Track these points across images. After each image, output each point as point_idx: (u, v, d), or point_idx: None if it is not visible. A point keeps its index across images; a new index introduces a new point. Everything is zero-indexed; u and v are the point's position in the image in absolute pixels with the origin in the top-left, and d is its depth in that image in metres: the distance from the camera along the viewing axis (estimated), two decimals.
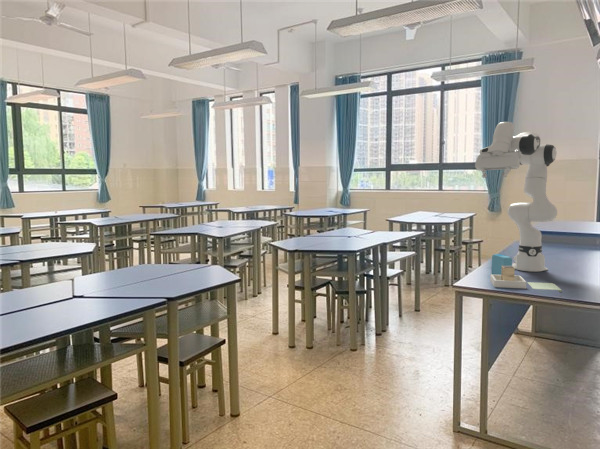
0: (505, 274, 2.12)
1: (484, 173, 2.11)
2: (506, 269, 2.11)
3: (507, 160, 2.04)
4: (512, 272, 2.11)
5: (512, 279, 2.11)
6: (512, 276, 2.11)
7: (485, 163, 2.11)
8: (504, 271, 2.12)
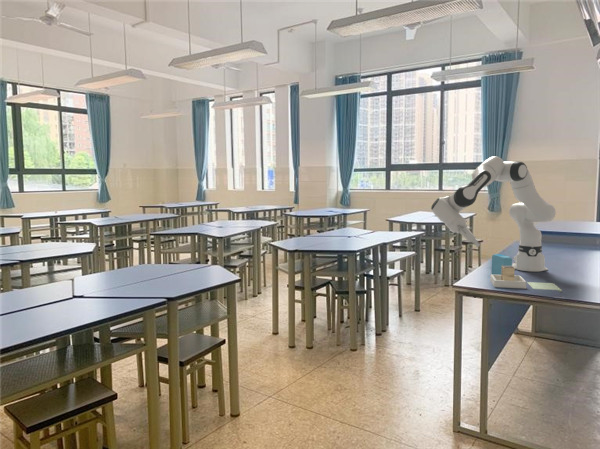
0: (505, 274, 2.12)
1: None
2: (506, 269, 2.11)
3: None
4: (512, 272, 2.11)
5: (512, 279, 2.11)
6: (512, 276, 2.11)
7: None
8: (504, 271, 2.12)
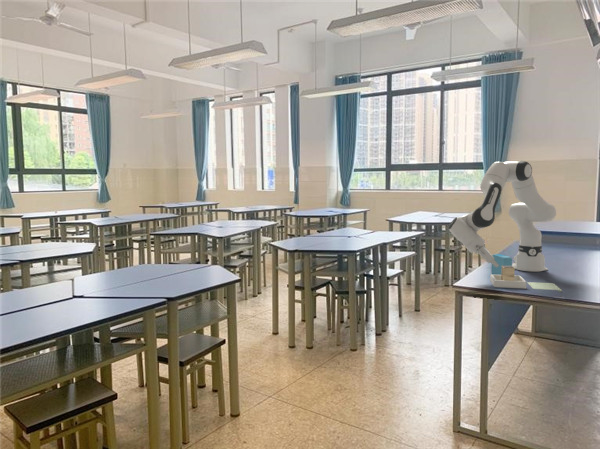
0: (505, 274, 2.12)
1: None
2: (506, 269, 2.11)
3: None
4: (512, 272, 2.11)
5: (512, 279, 2.11)
6: (512, 276, 2.11)
7: None
8: (504, 271, 2.12)
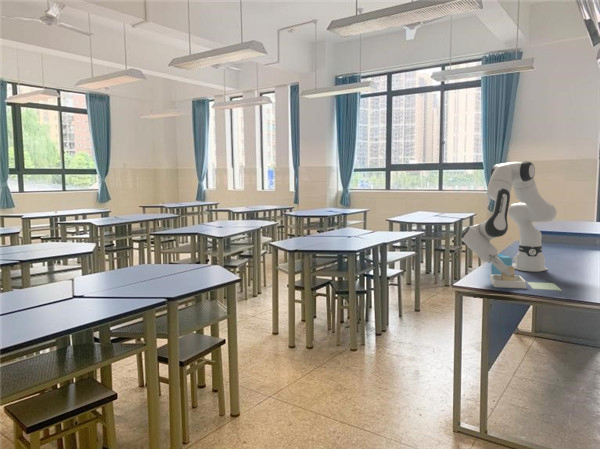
0: (505, 274, 2.12)
1: None
2: None
3: None
4: (512, 272, 2.11)
5: (512, 279, 2.11)
6: (512, 276, 2.11)
7: None
8: None
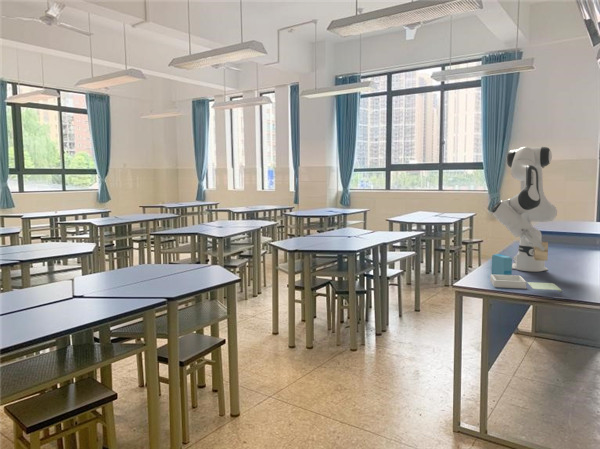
0: (538, 249, 2.07)
1: None
2: None
3: (529, 241, 2.05)
4: (546, 247, 2.06)
5: (545, 254, 2.06)
6: (545, 251, 2.06)
7: None
8: None
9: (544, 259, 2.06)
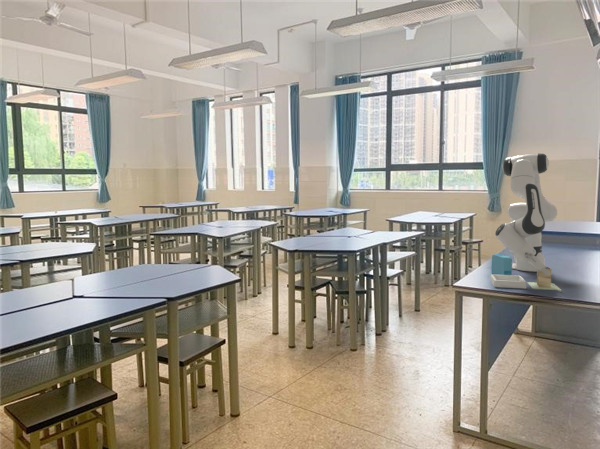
0: (541, 275, 2.07)
1: None
2: None
3: None
4: (549, 274, 2.06)
5: (549, 280, 2.07)
6: (549, 277, 2.07)
7: None
8: (540, 272, 2.07)
9: (547, 286, 2.07)
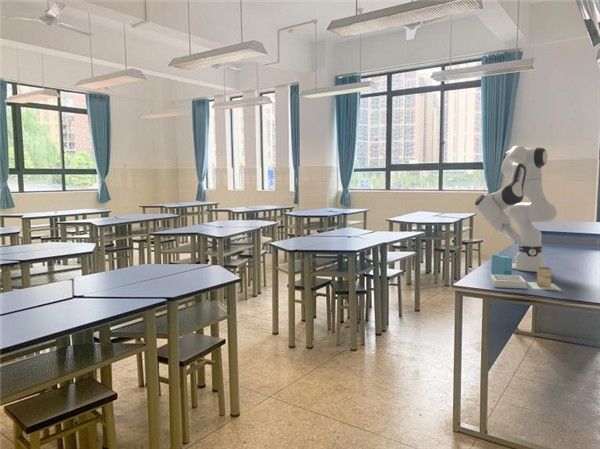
0: (541, 275, 2.07)
1: (514, 241, 2.17)
2: (543, 270, 2.07)
3: None
4: (549, 274, 2.06)
5: (549, 281, 2.07)
6: (549, 277, 2.07)
7: (505, 234, 2.18)
8: (540, 272, 2.07)
9: (547, 286, 2.07)
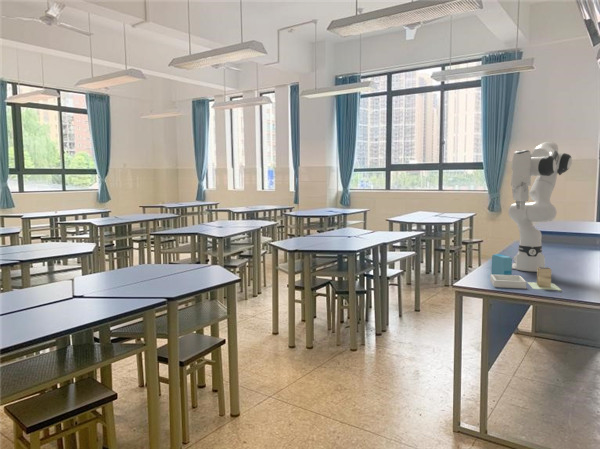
0: (541, 275, 2.07)
1: (516, 205, 2.26)
2: (543, 270, 2.07)
3: (518, 194, 2.16)
4: (549, 274, 2.06)
5: (549, 281, 2.07)
6: (549, 277, 2.07)
7: (514, 195, 2.25)
8: (540, 272, 2.07)
9: (547, 286, 2.07)
